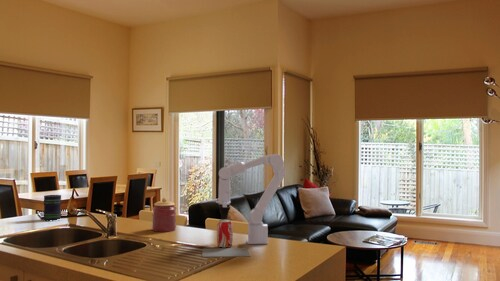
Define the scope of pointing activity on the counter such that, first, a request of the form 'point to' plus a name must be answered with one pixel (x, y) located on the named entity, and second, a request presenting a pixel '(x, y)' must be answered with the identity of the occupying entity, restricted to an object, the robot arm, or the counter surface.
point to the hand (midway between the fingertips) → (224, 220)
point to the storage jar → (52, 207)
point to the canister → (164, 216)
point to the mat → (226, 252)
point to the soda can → (224, 233)
